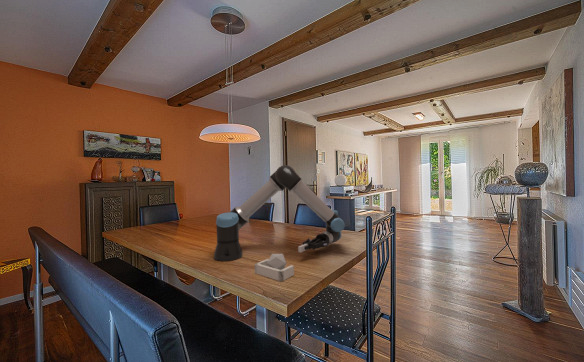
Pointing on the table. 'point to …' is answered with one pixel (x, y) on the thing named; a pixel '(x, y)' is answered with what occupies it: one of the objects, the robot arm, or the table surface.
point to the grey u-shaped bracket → (273, 271)
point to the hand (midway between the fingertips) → (299, 249)
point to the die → (277, 261)
